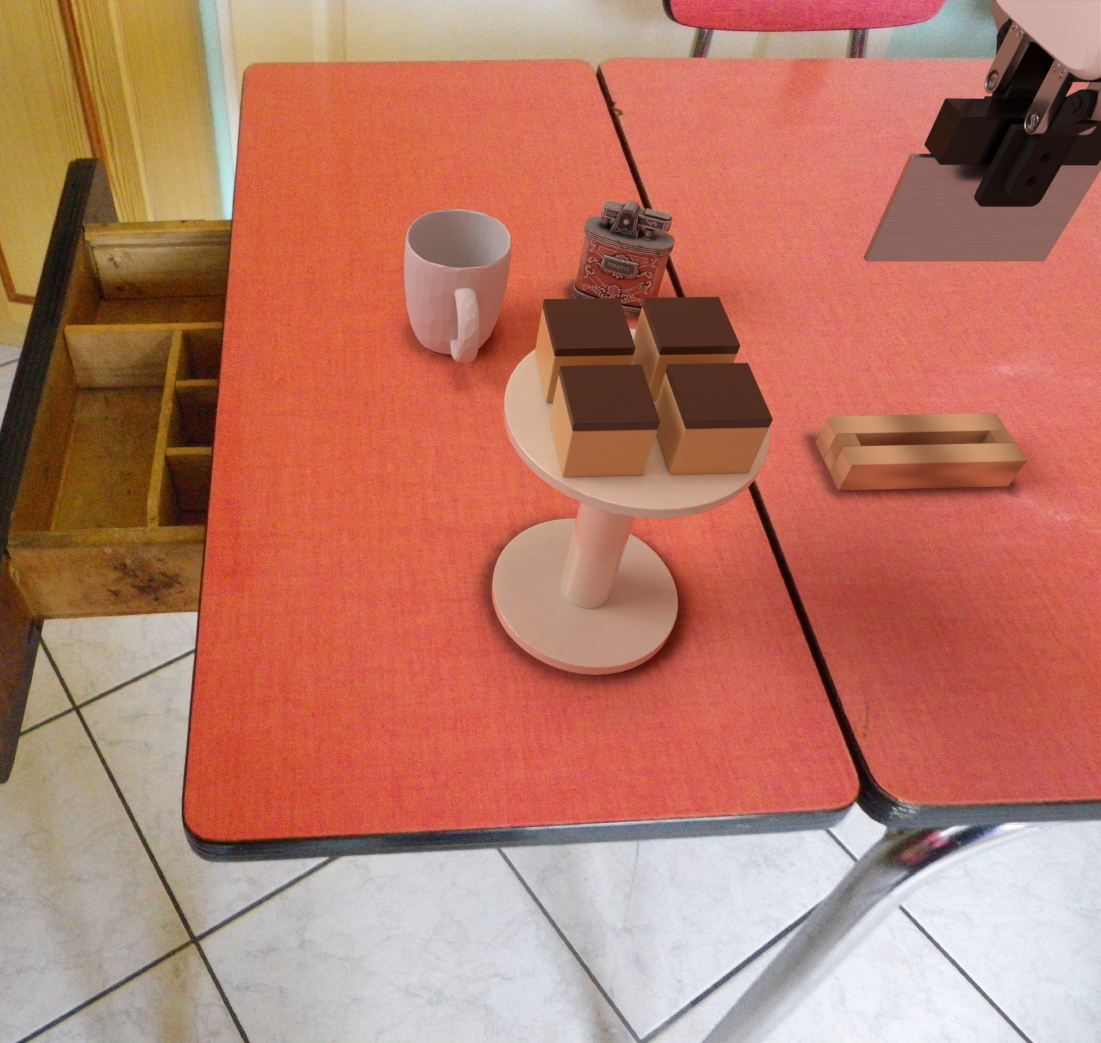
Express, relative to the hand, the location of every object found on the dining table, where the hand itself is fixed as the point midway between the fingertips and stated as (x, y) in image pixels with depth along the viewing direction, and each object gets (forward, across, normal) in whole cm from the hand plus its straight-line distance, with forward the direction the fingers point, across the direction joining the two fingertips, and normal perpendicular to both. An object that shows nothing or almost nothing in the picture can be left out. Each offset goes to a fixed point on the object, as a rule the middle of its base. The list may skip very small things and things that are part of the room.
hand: (993, 186), depth 49 cm
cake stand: (+30, -4, +17) cm, 34 cm away
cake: (+12, -4, +17) cm, 21 cm away
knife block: (+30, +9, -12) cm, 33 cm away
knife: (+4, 0, 0) cm, 4 cm away
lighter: (+30, +31, +8) cm, 43 cm away
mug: (+30, +24, +24) cm, 45 cm away
